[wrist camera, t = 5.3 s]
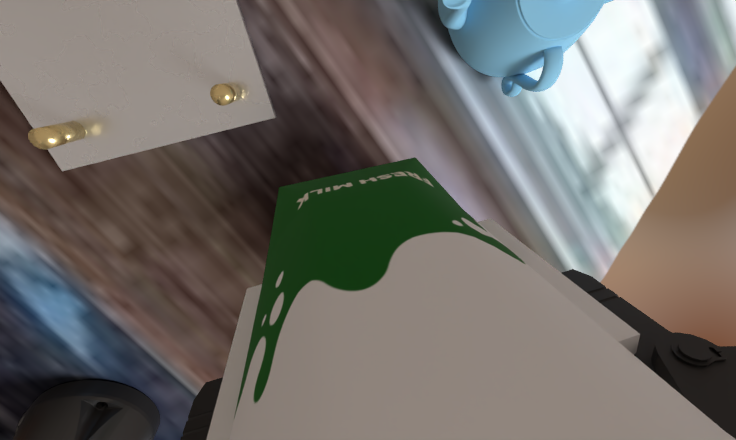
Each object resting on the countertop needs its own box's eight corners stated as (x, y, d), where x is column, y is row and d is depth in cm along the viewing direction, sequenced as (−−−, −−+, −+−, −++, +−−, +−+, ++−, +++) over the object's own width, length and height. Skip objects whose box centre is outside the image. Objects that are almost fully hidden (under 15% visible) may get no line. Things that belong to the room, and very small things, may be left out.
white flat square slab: (71, 167, 30) (27, 185, 26) (-116, -113, 21) (-234, -165, 17) (276, 116, 31) (271, 123, 27) (180, -171, 23) (147, -234, 18)
